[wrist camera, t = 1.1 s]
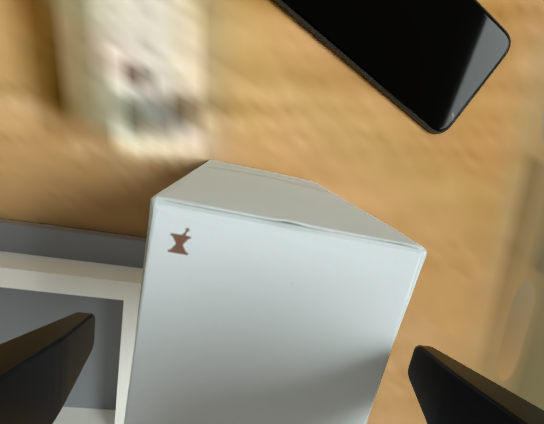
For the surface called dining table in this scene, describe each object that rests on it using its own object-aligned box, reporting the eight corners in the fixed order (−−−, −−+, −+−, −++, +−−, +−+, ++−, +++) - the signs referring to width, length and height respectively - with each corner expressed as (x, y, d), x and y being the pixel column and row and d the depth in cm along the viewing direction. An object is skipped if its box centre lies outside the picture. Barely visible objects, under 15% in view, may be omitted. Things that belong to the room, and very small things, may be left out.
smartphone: (508, 44, 20) (328, -139, 16) (520, 40, 19) (333, -153, 16) (434, 140, 21) (251, -14, 17) (442, 140, 20) (251, -22, 17)
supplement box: (189, 264, 21) (106, 446, 8) (209, 156, 19) (144, 185, 7) (293, 282, 22) (356, 469, 9) (320, 181, 20) (438, 246, 8)
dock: (166, 436, 24) (156, 474, 21) (-63, 423, 22) (-107, 463, 19) (189, 243, 20) (181, 259, 18) (-80, 207, 18) (-137, 219, 16)
